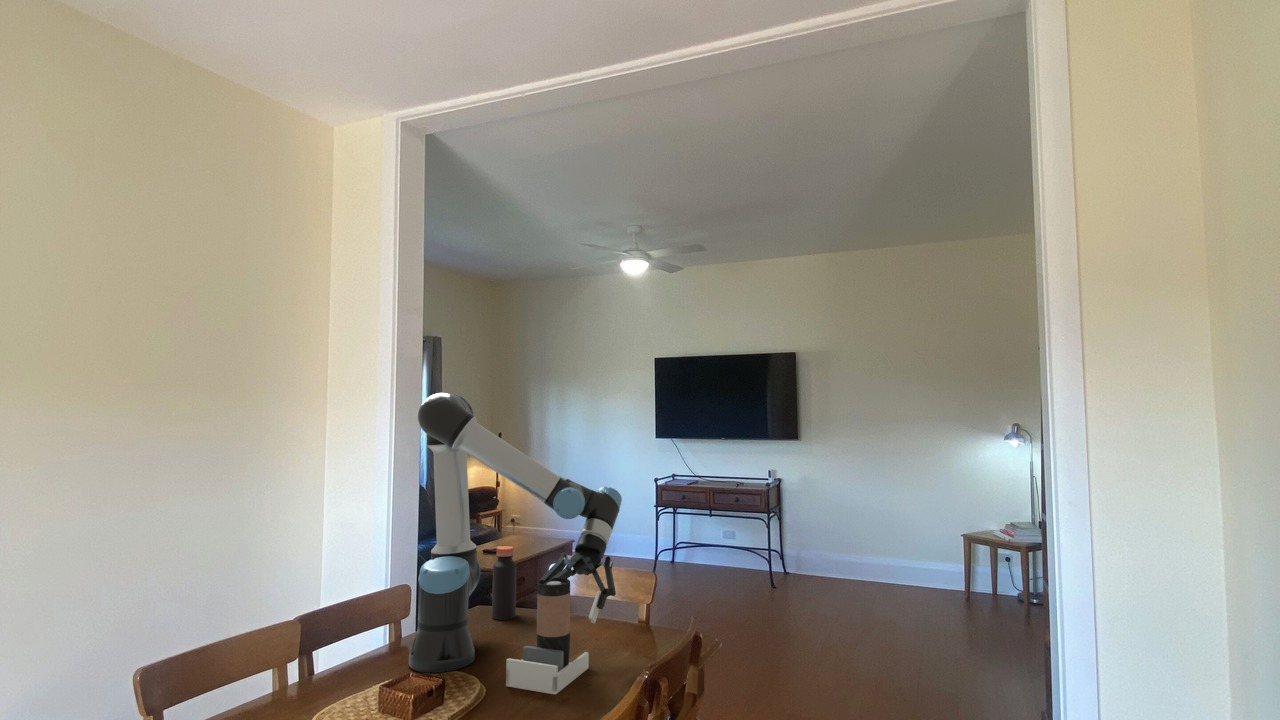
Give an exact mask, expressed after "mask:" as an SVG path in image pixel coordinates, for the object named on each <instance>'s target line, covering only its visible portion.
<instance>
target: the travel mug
mask: <svg viewBox="0 0 1280 720" xmlns="http://www.w3.org/2000/svg"><path fill="white" fill-rule="evenodd" d="M536 606H537V610H536V613H537V614H536V647H540V648H547V649H554V650H560V651H564V656H563V668H564V667H566V666H567V665H568V664H569V663H570V643H571V580H570V579H569V578H568V579H566V578H552V579H551V580H549V581H544V580H543V579H542V580H540V579H539V580H538V582H537V604H536Z"/></svg>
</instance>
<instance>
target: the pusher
mask: <svg viewBox="0 0 1280 720" xmlns="http://www.w3.org/2000/svg"><path fill="white" fill-rule="evenodd" d="M563 656H564V651H560V650H554V649H547V648H540V647H537V646H532V645H531V646H530V645H524V646H523V647H522V659H523V661H530V662H536V663H543V664H549V665H556V666H558V672H559V671H560V670H562V669H563Z"/></svg>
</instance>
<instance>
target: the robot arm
mask: <svg viewBox="0 0 1280 720" xmlns="http://www.w3.org/2000/svg"><path fill="white" fill-rule="evenodd" d="M417 420H418V424H419V426H420V428H421V429H422V430H423V433H425V434H426V446H427V448H428V449H430V451H431V452H432V454H433V478H434V501H435V503H434V504H435V507H434V508H435V509H434V510H435V531H436V533H435V535H436V536H435V537H436V544H435V545H434V547H433V548H432V549H431V550H430V559H429V560H428V561H425V562H424V563H423V564H422V565H421V567H420V569H419V575H418V579H417V580H418V601H417V602H418V604H417V605H418V607H417V609H418V610H417V631H416V634H415V637H414V640H413V642H412V646H411V649H410V651H409V654H408V655H409V656H408V666H409V668H410V669H412V670H414V671H416V672H422V673H430V672H432V673H446V672H452V671H455V670H459V669H462V668H465V667H467V666H469V665H471V664H472V663H473V662H474V661H475V656H476V655H475V653H476V652H475V650H476V649H475V646H474V644H473V640H472V635H471V631H470V629H469V598H470V597H471V595H472V593H473V592H474V591H475V589H476V588H477V586H478V584H479V582H480V579H481V566H480V562H479V560H478V556H477V555H478V553H477V551H478V550H477V544H475V543H474V541H472V539H471V530H470V529H471V526H470V525H471V523H470V505H469V504H470V503H469V502H470V499H469V479H468V478H469V477H468V455H469V456H471V457H472V458H473V459H475V460H476V461H478V462H480V463H482V465H484V466H486V467H487V468H489V469H491V470H492V471H494V472H495V473H496V474H499V475H500V476H501V477H503V478H505V479H506V480H507V481H509V482H511V483H512V484H514V485H515V486H517V487H518V488H520V489H521V490H523V491H524V492H526V493H528V494H529V495H531V496H532V497H534V498H535V499H537V500H539V501H540V502H541V503H543V504H545V505H546V506H547V507H548V508H550V509H552V510H553V511H554V512H555V513H556V515H558V516H559V517H560V518H561V519H564V520H573V519H575V518H577V517H578V516H580V517H583V518H585V519H586V520H585V521H584V524H583V527H582V529H581V532H580V535H579V537H578V540H577V543H576V546H575V548H574V553H573V554H572V555H568V554H567V553H566V552H562V553H561V554H560V557H559V558H558V560H557V561H556V562H555V563H554V564H553V565H552V567H550V568H549V569H548V571H547V572H545V574H544V575H543V576H542V577H541V578H540V579H539V580H542V579H543V580H544V581H549V580H551V579H552V578H566V579H569V578H571V577H574V576H575V575H576V574H577V575H579V576H580V575H585V576H589V575H591V574H592V576H593V578H594V580H595V583H596V584H597V587H598V588H599V591H597V592H596V594H595V597H594V600H593V603H592V606H591V609H590V612H589V614H588V619H589V621H590V622H591V624H594V625H595V624H596V621H597V618H598V615H599V612H600V610H603V609H604V607H605V604H606V601H607V598H608V597H610V596H612V597H615V596H616V594H617V591H616V587H615V582H614V581H615V580H614V575H613V571H612V570H613V564H614V562H613V561H612V559H611V557H610V556H606V557H605V558H604V556H605V553H606V550H607V547H608V544H609V542H610V537H611V535H612V533H613V530H614V527H615V523H616V521H617V518H618V516H619V513H620V509H621V505H622V501H623V498H622V495H621V493H620V492H619V491H618V490H617V489H616V488H614V487H612V486H611V487H610V486H609V487H607V486H601V487H599V488H598V489H597V490H594V489H590V488H588V487H586V486H584V485H581V484H579V483H577V482H576V481H572V480H571V479H569V478H566V477H564V476H563V477H562V476H559V475H557V474H555V472H553V471H551V470H550V469H548V468H546V467H545V466H544V465H542V464H540V463H539V462H537V461H536V460H535V459H533V458H531V457H530V456H528V455H527V454H525V453H524V452H523V451H521V450H519V449H518V448H516V447H515V446H513V445H511V444H510V443H509V442H508V441H505V440H504V439H503V438H501V437H500V436H498V435H496V434H495V433H494V432H492V431H490V430H489V429H487V428H485V427H484V426H483V425H481V424H480V423H478V421H477V417H476V416H475V415H474V410H473V407H472V405H471V404H470V403H469V402H468V400H466V399H465V398H464V397H463V396H461V395H458V394H455V393H454V394H453V393H445V392H438V393H435V394H432V395H430V396H428V397H427V398H425V399H424V401H423V402H422V403H421V405H420V406H419V409H418V413H417ZM601 566H603V568H604V574H605V579H606V585H607V588H606V587H605V585H604V583H603V581H602V578H601V576H600V574H599V573H598V570H597V569H599V568H600V567H601ZM572 568H573V569H572ZM445 671H446V672H445ZM432 673H431V674H432Z"/></svg>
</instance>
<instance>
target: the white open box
mask: <svg viewBox="0 0 1280 720" xmlns="http://www.w3.org/2000/svg"><path fill="white" fill-rule="evenodd" d="M589 654H590V653H589V651H585V652H583V653H582V654H580V655H579V656H577V657H576V658H575V659H574V660H573V661H571V662H569V664H568V665H567V666H566V667H564V668H563V669H562V670H560V671H559V672H558V666H556V665H549V664H543V663H536V662H530V661H523V658H521V659H517V658H510V657H509V658H507V659H506V664H505V665H506V666H505V667H506V668H505V669H506V670H505V671H506V673H505V675H506V676H505V686H506V687H510V688H515V689H521V690H526V691H527V690H528V691H533V692H539V693H545V694H551V695H555V696H556V695H557V694H558V693H560V692H561V691H562V690H563V689H565V688H566V687H567V686H568V685H570V683H572V682H573V681H575V680H576V679H577V678H578V677H579V676H580V675H582V674H583V673H585V672H586V671H587V670H588V669H589Z"/></svg>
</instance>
